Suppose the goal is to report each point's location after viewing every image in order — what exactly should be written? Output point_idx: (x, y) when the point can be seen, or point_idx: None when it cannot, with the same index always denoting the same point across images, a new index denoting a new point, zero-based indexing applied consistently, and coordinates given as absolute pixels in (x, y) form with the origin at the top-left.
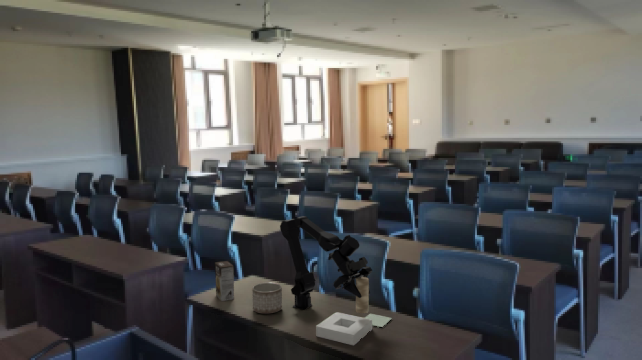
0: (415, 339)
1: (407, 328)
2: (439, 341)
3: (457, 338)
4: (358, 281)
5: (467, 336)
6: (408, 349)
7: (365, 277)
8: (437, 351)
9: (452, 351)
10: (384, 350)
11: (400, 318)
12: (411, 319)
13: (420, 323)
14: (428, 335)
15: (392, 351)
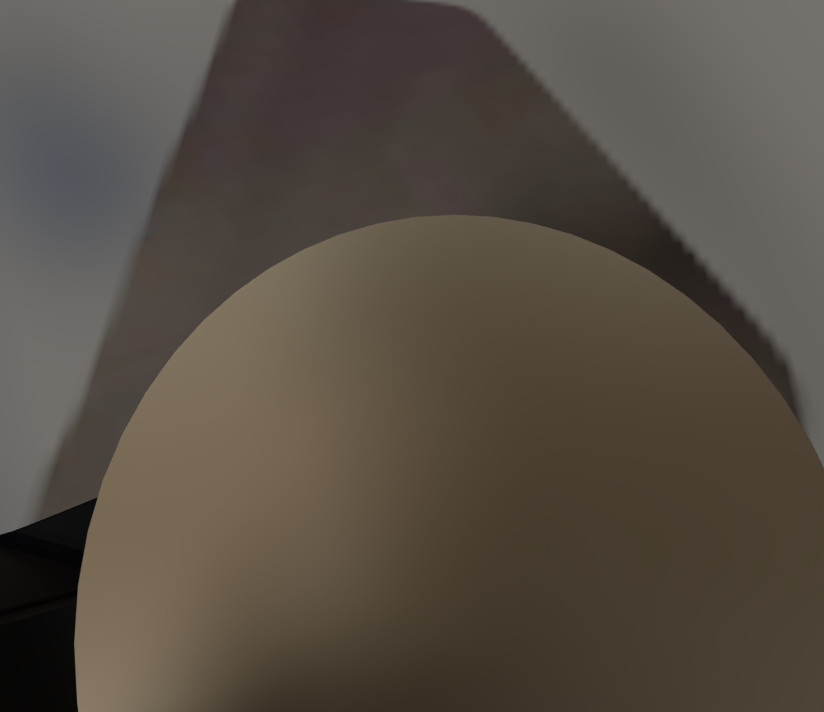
0: (417, 163)
1: (301, 238)
2: (382, 77)
3: (313, 32)
4: (817, 608)
5: (274, 9)
6: (543, 154)
7: (118, 496)
8: (486, 58)
9: (451, 18)
10: (629, 240)
11: (168, 322)
12: (162, 262)
13: (203, 204)
14: (340, 130)
15: (612, 205)
